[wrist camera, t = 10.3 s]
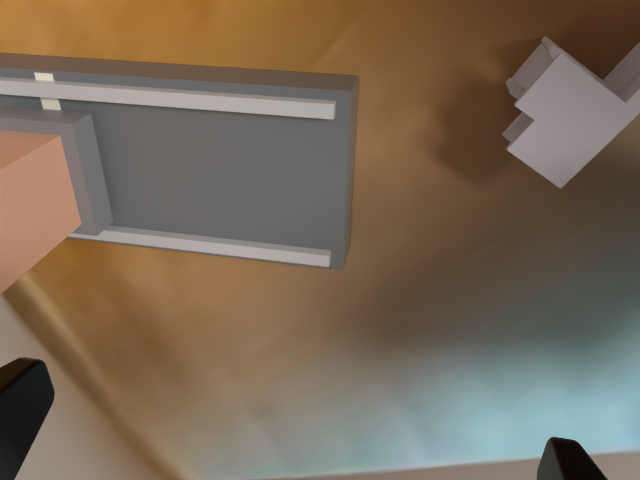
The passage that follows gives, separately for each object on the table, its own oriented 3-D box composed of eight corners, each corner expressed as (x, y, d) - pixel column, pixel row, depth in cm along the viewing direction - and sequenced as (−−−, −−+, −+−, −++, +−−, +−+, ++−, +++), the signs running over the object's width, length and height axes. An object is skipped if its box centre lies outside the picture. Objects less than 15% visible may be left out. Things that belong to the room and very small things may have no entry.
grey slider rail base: (358, 75, 19) (349, 94, 17) (350, 244, 23) (341, 275, 21) (-127, 44, 22) (-184, 57, 20) (-67, 197, 26) (-110, 222, 24)
